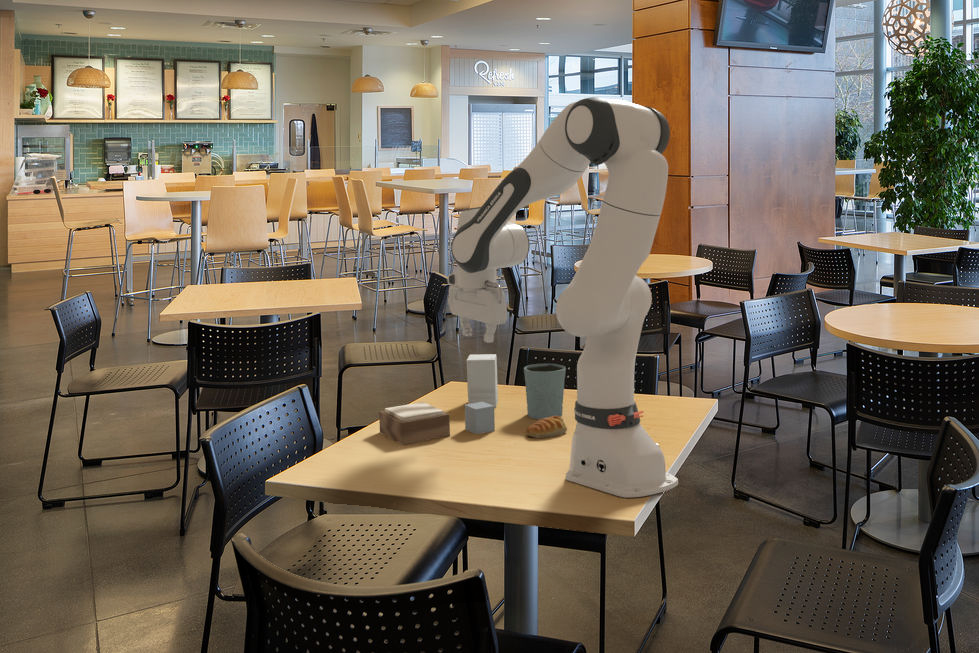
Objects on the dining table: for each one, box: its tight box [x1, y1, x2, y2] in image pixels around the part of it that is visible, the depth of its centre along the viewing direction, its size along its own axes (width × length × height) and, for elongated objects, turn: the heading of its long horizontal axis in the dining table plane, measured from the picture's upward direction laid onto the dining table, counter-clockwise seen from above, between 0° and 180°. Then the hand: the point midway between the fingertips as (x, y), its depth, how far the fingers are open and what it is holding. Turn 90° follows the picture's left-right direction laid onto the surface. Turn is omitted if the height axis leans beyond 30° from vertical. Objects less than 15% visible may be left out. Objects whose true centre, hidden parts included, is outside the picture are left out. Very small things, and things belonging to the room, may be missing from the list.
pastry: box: [526, 416, 568, 439], centre depth 204 cm, size 9×7×4 cm
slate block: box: [464, 402, 496, 435], centre depth 207 cm, size 5×5×6 cm
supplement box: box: [466, 353, 499, 408], centre depth 230 cm, size 7×7×13 cm
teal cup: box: [523, 363, 567, 420], centre depth 219 cm, size 10×10×12 cm
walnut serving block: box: [378, 401, 451, 445], centre depth 205 cm, size 12×12×6 cm
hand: (478, 338), depth 204 cm, fingers open, 8 cm apart
